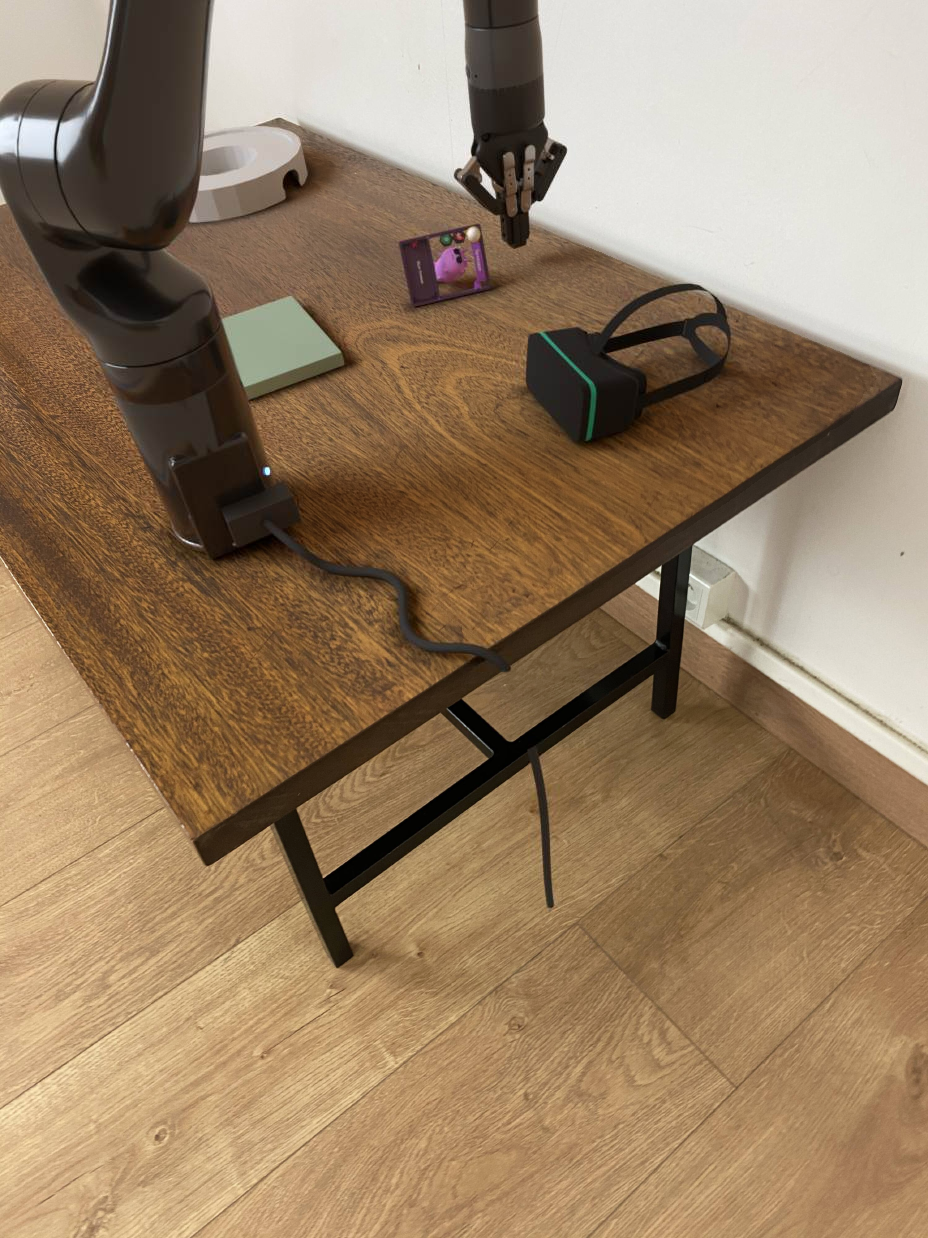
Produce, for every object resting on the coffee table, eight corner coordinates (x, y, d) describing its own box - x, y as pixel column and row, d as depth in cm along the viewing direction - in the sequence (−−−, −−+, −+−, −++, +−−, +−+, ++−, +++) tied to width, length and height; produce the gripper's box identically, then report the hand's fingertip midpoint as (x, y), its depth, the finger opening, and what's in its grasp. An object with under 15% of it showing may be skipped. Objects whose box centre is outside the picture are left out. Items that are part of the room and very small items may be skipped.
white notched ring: (288, 142, 138) (281, 113, 135) (325, 194, 123) (318, 163, 120) (138, 179, 134) (128, 150, 132) (157, 237, 119) (146, 206, 116)
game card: (399, 241, 95) (481, 223, 96) (392, 239, 99) (471, 221, 100) (413, 307, 98) (492, 289, 99) (406, 302, 102) (482, 284, 103)
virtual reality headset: (524, 386, 85) (530, 282, 78) (679, 354, 89) (698, 253, 82) (578, 447, 78) (590, 339, 71) (744, 410, 82) (770, 304, 75)
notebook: (344, 364, 92) (341, 351, 91) (243, 402, 89) (238, 389, 88) (294, 307, 102) (291, 294, 100) (201, 339, 99) (197, 326, 98)
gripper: (462, 97, 84) (480, 275, 97) (583, 62, 88) (584, 238, 100) (428, 79, 89) (449, 250, 102) (543, 46, 93) (549, 216, 105)
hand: (516, 244), depth 101 cm, fingers closed
